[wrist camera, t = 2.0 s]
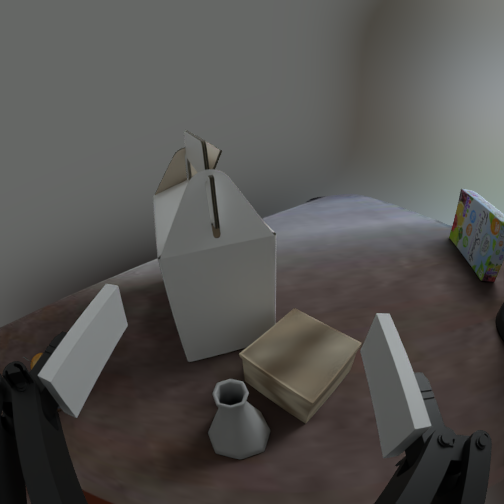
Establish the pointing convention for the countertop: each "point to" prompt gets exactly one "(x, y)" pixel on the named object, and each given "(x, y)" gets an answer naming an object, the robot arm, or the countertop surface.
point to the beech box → (299, 363)
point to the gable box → (213, 255)
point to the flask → (237, 422)
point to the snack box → (479, 234)
